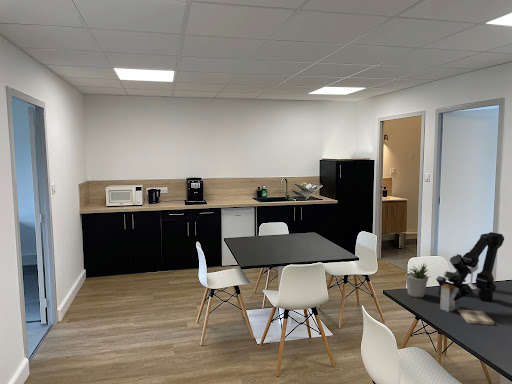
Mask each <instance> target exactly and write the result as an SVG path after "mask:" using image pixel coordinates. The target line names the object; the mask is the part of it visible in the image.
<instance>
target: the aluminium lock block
mask: <svg viewBox="0 0 512 384" xmlns="http://www.w3.org/2000/svg"><path fill="white" fill-rule="evenodd" d="M455 292H456V287H455V286H452V285H449V284H445V285H441V295H440V301H439V302H440V304H439V305H440V306H439V309H440V310H443V311H445V312H448V313H449V311H450V312H453V310H454V311H455V309H456V307H455V306H456V301H454V298H455V296H456V294H455Z"/></svg>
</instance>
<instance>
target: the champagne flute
mask: <svg viewBox="0 0 512 384" xmlns="http://www.w3.org/2000/svg"><path fill="white" fill-rule="evenodd" d="M471 250H472V248H470V249H468V252H470V251H471ZM467 267H468V266H467ZM468 268H469V269H471V274H470V279H469V280H470V283H468V285H469V286H470V287H471V289H472V290H477V289H478V288H477V286H476V285H474V284H473V278H474V273H476V271H477V270H479V263H478V264H477V266H476V267H475V268H472V267H468Z"/></svg>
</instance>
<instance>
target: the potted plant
mask: <svg viewBox="0 0 512 384" xmlns="http://www.w3.org/2000/svg"><path fill="white" fill-rule="evenodd" d="M420 266H421V267H420ZM420 266H418V268H417V267H416V266H415V265H412V266H411V267H412V268H408V272H409V273H408V272H407V273H406V274H405V280H406V289H407V290H406V291H407V294H408V295H409V296H411V297H414V298H423V297H424V296H425V293H426V289H427V285H428V280H429V278H430V277H432V276H431V275H430V276H428V273H429V272H428V270H429V268H427V267H428V265H427V264H426V263H425V261H424V263H422V264H421V265H420Z"/></svg>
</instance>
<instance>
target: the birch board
mask: <svg viewBox="0 0 512 384" xmlns="http://www.w3.org/2000/svg"><path fill="white" fill-rule="evenodd" d="M458 312H459V313H460V314H459V313H458ZM457 313H458V314H459V315H460V316H461V317H462V319H464V320H465V322H466V323H467V324H474V323H475V324H474V325H476V324H477V325H492V326H494V325H495V321H494V320H493V319H492V318H490V317H489V316H488V315H487V313H486V312H484V310H476V309H475V310H473V309H458V310H457Z"/></svg>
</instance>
